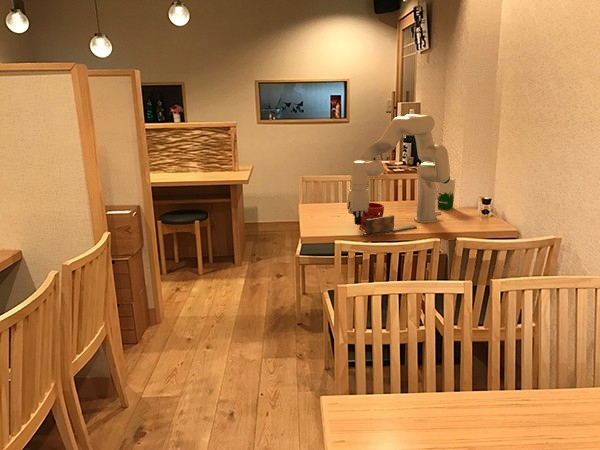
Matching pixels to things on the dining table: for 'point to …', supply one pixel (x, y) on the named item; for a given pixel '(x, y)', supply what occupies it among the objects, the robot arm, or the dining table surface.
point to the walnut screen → (379, 224)
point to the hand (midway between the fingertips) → (357, 224)
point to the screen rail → (390, 230)
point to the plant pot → (372, 213)
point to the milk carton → (446, 194)
